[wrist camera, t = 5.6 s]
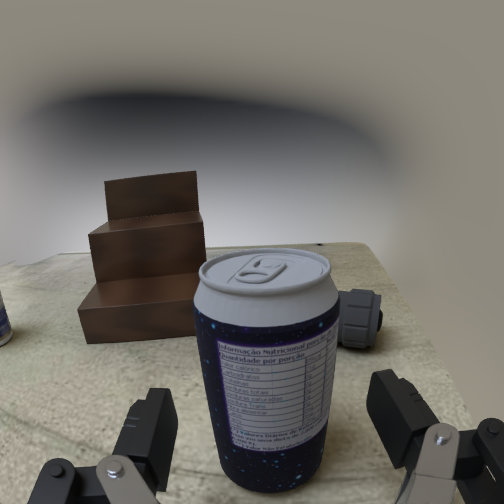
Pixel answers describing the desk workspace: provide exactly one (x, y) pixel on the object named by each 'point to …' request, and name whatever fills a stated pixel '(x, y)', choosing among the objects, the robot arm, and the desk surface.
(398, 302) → the desk surface
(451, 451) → the robot arm
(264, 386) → the beverage can
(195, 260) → the wooden stair steps
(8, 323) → the pill bottle
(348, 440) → the desk surface
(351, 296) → the flashlight
